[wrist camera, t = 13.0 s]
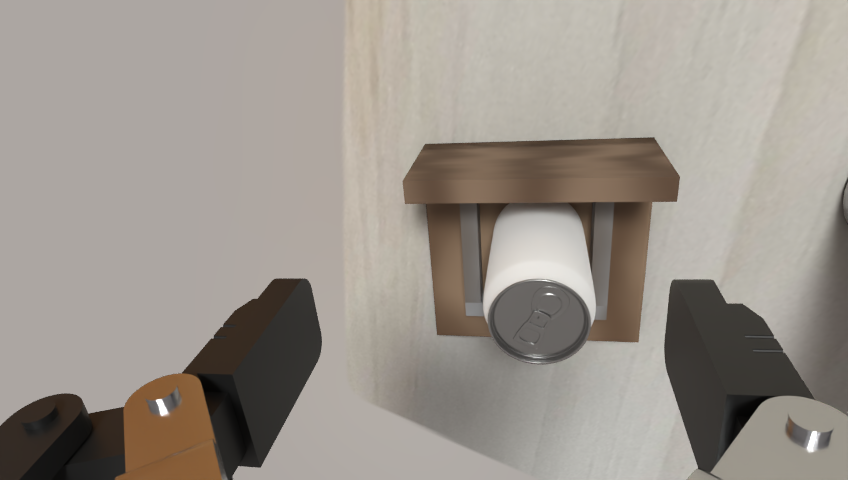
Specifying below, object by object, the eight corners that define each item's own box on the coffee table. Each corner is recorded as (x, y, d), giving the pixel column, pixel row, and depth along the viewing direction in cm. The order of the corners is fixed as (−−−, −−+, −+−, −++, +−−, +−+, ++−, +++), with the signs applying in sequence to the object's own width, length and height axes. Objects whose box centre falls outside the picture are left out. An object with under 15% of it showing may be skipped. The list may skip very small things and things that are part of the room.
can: (599, 213, 40) (622, 302, 30) (557, 283, 43) (564, 387, 33) (516, 176, 40) (510, 253, 30) (480, 249, 43) (461, 343, 33)
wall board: (653, 137, 39) (679, 176, 32) (635, 331, 46) (653, 398, 39) (425, 144, 42) (402, 181, 35) (440, 324, 49) (423, 386, 42)
